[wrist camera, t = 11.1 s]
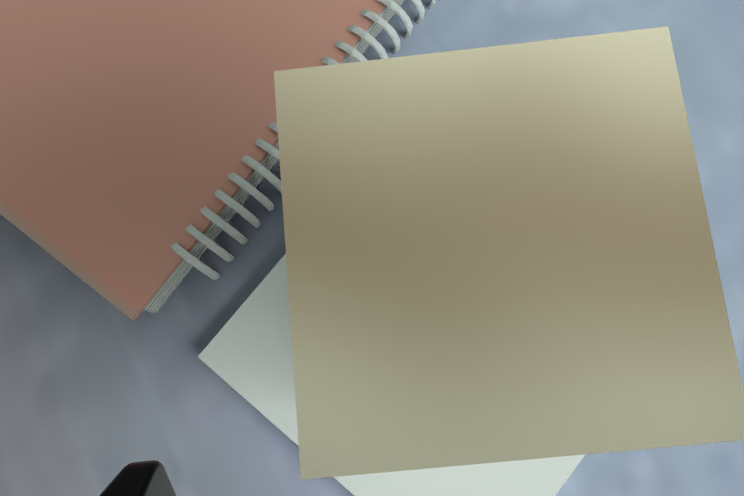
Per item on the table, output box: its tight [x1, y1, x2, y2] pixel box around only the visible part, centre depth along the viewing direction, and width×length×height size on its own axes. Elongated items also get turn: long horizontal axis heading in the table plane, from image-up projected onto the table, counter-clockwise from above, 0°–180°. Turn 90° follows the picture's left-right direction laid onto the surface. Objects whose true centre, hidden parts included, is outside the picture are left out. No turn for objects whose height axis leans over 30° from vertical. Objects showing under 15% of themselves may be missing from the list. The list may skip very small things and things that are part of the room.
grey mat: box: [198, 253, 585, 496], centre depth 21 cm, size 11×11×1 cm
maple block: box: [274, 26, 744, 480], centre depth 14 cm, size 5×5×13 cm
